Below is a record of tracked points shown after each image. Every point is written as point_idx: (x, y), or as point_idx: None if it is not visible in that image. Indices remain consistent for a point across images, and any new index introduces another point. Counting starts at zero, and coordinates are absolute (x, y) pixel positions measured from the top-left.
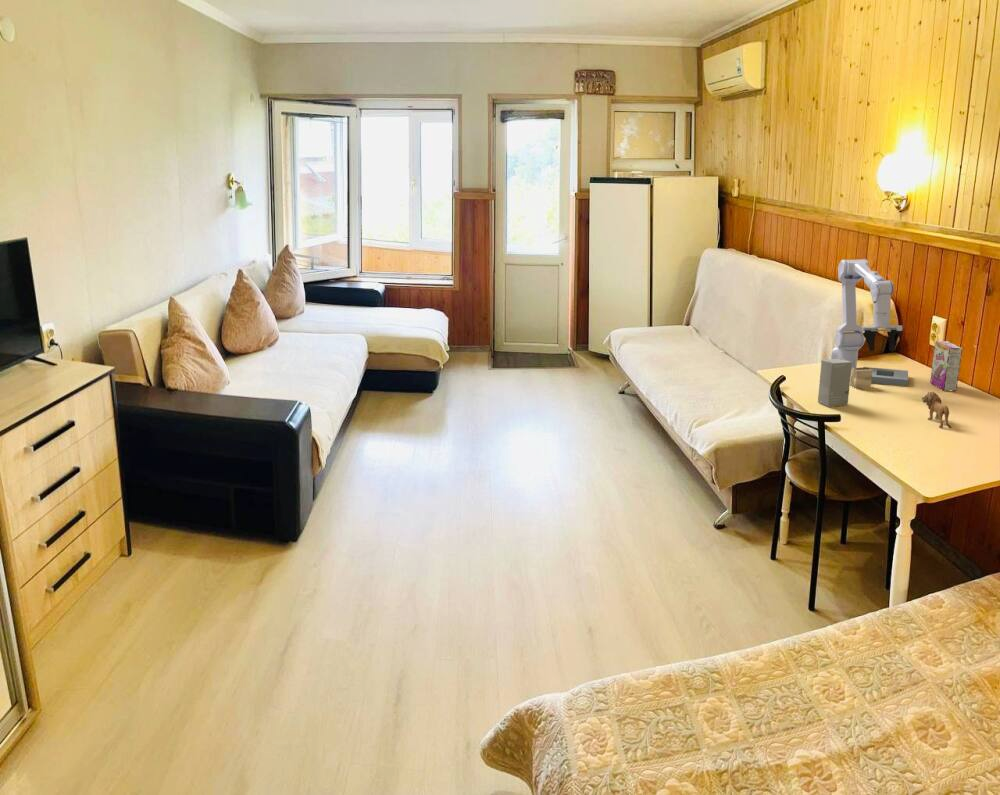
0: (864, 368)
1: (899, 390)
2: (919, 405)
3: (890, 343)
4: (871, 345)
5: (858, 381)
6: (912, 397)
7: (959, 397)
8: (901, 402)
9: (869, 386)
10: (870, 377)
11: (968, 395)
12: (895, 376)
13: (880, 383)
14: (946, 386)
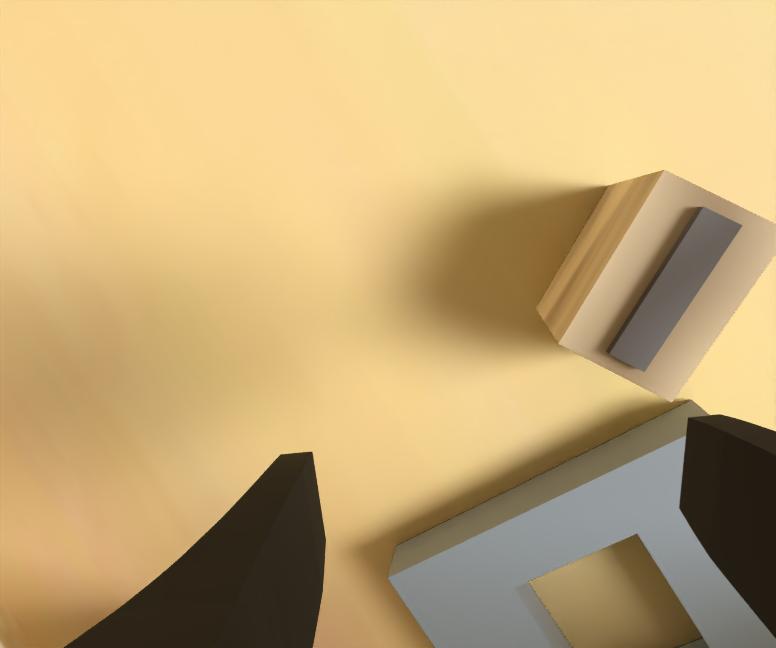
0: (642, 299)
1: (365, 417)
2: (80, 204)
3: (228, 534)
4: (768, 503)
5: (609, 205)
6: (215, 334)
7: (83, 547)
8: (177, 163)
9: (542, 301)
10: (554, 316)
11: (86, 618)
12: (505, 600)
13: (554, 469)
14: None
